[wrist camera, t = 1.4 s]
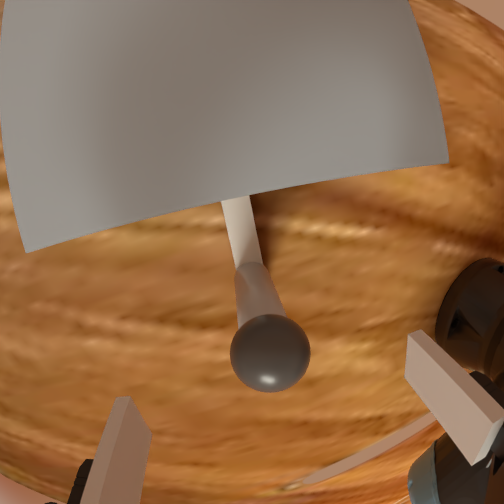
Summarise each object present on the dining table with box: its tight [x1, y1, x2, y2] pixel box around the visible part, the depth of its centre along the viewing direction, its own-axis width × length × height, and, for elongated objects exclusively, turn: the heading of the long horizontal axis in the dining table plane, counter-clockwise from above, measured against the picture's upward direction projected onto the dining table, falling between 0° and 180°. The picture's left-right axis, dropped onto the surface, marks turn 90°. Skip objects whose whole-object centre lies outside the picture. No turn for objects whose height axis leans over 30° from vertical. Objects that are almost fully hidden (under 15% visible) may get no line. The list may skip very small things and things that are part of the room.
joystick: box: [221, 195, 311, 393], centre depth 18 cm, size 30×18×15 cm, turn 11°
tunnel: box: [0, 0, 449, 253], centre depth 17 cm, size 28×25×14 cm
